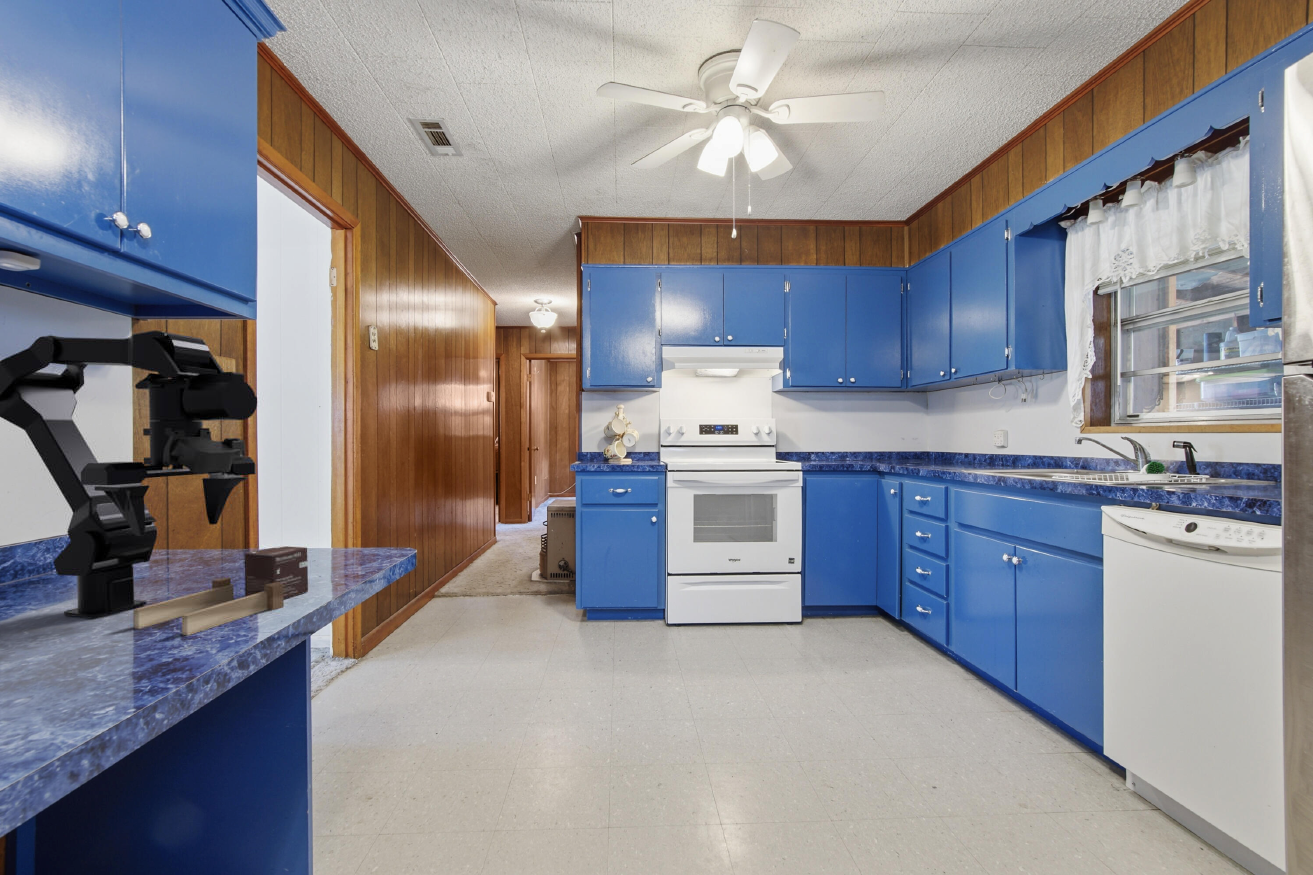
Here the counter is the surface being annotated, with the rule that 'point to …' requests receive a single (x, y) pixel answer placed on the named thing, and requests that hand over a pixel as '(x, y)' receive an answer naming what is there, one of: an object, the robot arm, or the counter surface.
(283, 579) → the box
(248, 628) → the counter surface
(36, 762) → the counter surface
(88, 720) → the counter surface
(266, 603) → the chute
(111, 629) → the counter surface
